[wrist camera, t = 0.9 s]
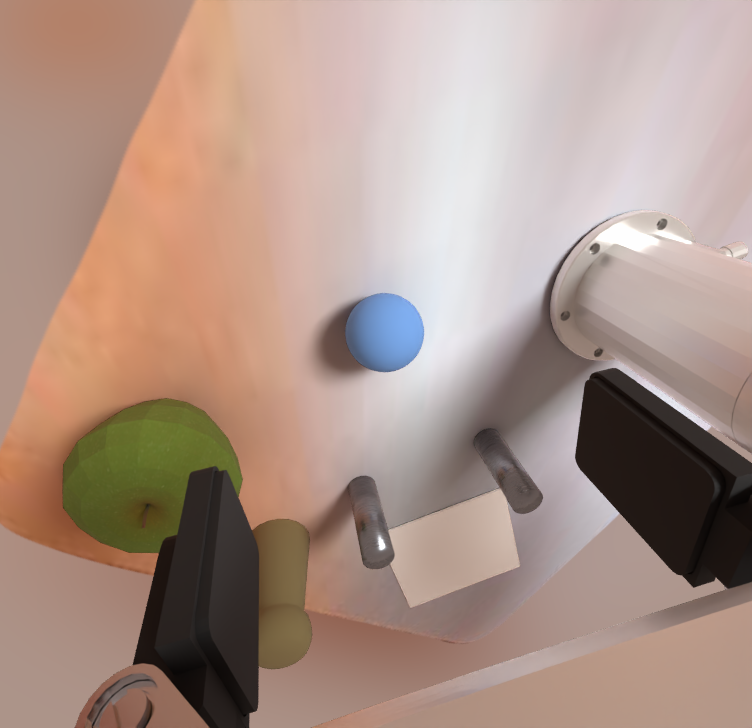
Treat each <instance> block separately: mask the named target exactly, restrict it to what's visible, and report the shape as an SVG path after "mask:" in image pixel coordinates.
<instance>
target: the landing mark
mask: <svg viewBox="0 0 752 728" xmlns="http://www.w3.org/2000/svg"><path fill="white" fill-rule="evenodd" d="M388 531H389V535H390V539H391V542H392V546H393V550H394V553H395V557H394V559H393V561H392V562H391V563H390V565H391V567H392V570H393V572H394V574H395V576H396V578H397V580H398V582H399V585H400V587H401V589H402V591H403V593H404V595H405V598H406V600H407V602H408V604H409V606H410V608H412V607H415V606H418V605H420V604H423V603H425V602H428V601H431V600H433V599H436V598H439V597H441V596H444V595H446V594H449V593H452V592H454V591H457V590H460V589H462V588H465V587H467V586H470V585H473V584H475V583H478V582H481V581H483V580H486V579H488V578H491V577H494V576H496V575H499V574H502V573H504V572H507V571H509V570H512V569H515V568H517V567H520V563H519V558H518V553H517V548H516V543H515V539H514V534H513V529H512V524H511V519H510V514H509V509H508V505H507V500H506V497H505V495H504V494H503V492H502V490H501V489H500V488H498V489H496V490H493V491H490V492H488V493H485V494H482V495H480V496H477V497H474V498H472V499H469V500H466V501H464V502H461V503H458V504H456V505H453V506H450V507H448V508H445V509H442V510H440V511H437V512H434V513H432V514H429V515H426V516H424V517H421V518H419V519H416V520H413V521H411V522H408V523H405V524H403V525H400V526H397V527H395V528H392V529H389V530H388Z"/></svg>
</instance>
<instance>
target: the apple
mask: <svg viewBox="0 0 752 728" xmlns="http://www.w3.org/2000/svg"><path fill="white" fill-rule="evenodd" d="M213 466H217V468H218V469H219V471H222V470H227V472H228V474H229V476H230V478H231V481H232V483H233V486H234V488H235V491H236V493H237V496H238V497H239V493H240V489H241V484H242V480H243V479H242V475H241V471H240V466H239V462H238V458H237V456H236V454H235V452H234V450H233V448H232V446H231V444H230V442H229V440H228V438H227V437H226V435H225V434H224V433H223V432H222V431H221V429H220V428H219V427H218V426H217V425H216V423H215V422H214V421H213V420H212V419H211V418H210V417H209V416H208V415H207V414H206V413H205V412H204V411H203V410H201V409H199V408H197V407H195V406H193V405H191V404H189V403H187V402H183V401H178V400H173V399H168V398H165V399H159V400H152V401H146V402H143V403H140V404H138V405H135V406H132V407H129V408H127V409H124V410H122V411H120V412H119V413H117V414H116V415H114V416H112V417H111V418H109V419H107V420H106V421H104V422H103V423H101V424H100V425H98V426H97V427H96V428H94V429H93V430H92V431H91V432H89V433H88V434H87V435H85V436H84V437H83V438H81V439H80V440H79V441H78V442H77V444H76V445H75V447H74V448H73V450H72V452H71V453H70V455H69V456H68V458H67V460H66V461H65V463H64V465H63V508H64V510H65V511H66V512H67V513H68V515H69V516H70V517H71V518H72V520H73V521H74V522H75V524H76V525H77V526H78V527H79V528H80V529H82V530H83V531H84V532H86V533H87V534H89V535H90V536H92V537H93V538H95V539H96V540H97V541H99V542H100V543H103V544H106V545H109V546H112V547H115V548H118V549H120V550H123V551H126V552H129V553H159V552H160V548H161V545H162V542H163V540H164V539H165V538H166V537H170V536H174V535H177V533H178V529H179V524H180V519H181V514H182V509H183V504H184V499H185V494H186V489H187V484H188V479H189V475H190V473H191V472H193V471H197V470H201V469H205V468H209V467H213Z"/></svg>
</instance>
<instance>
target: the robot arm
mask: <svg viewBox="0 0 752 728" xmlns="http://www.w3.org/2000/svg"><path fill="white" fill-rule="evenodd" d="M747 254H748V247H747V246H746V244H745V243H743V242H735V243H732V244H729V245H727V246H724V247H722V248H720V249H716V248H712V247H709V246H705V245H702V244H699V243H696V241H695V237H694V236H693V234H692V232H691V231H690V229H689V227H687V226H686V225H685V224H684V223H683V222H682V221H681V220H680V219H678V218H676V217H674V216H672V215H670V214H666V213H662V212H658V211H650V210H639V211H632V212H627V213H624V214H621V215H619V216H616V217H613V218H611V219H610V220H608V221H606V222H604V223H603V224H601V225H599V226H598V227H597V228H595V229H594V230H593V231H591V232H590V233H589V234H588V235H586V236H585V237H584V238H583V239H582V240H581V242H580V243H579V244H578V245H577V246H576V247H575V248H574V249H573V250H572V252H571V253H570V255H569V256H568V258H567V259H566V260H565V262H564V264H563V265H562V267H561V269H560V271H559V273H558V275H557V278H556V281H555V284H554V287H553V290H552V295H551V302H550V317H551V322H552V325H553V329H554V331H555V333H556V335H557V337H558V338H559V340H560V341H561V342H562V343H563V344H564V345H565V346H566V347H567V348H568V349H570V350H571V351H573V352H574V353H575V354H577V355H579V356H581V357H583V358H586V359H590V360H596V361H599V360H613V359H616V360H618V361H619V362H621V363H622V364H624V365H625V366H626V367H628V368H629V369H631V370H632V371H634V372H635V373H636V374H638V375H639V376H641V377H642V378H644V379H645V380H646V381H648V382H649V383H651V384H652V385H654V386H655V387H656V388H658V389H659V390H661V391H662V392H664V393H665V394H666V395H668V396H669V397H671V398H672V399H674V400H675V401H676V402H678V403H679V404H681V405H682V406H683V407H685V408H686V409H688V410H689V411H691V412H692V413H693V414H695V415H696V416H698V417H699V418H701V419H702V420H703V421H705V422H706V423H708V424H709V425H711V426H712V427H713V428H715V429H716V430H718V431H719V432H721V433H722V434H723V435H725V436H726V437H728V438H729V439H731V440H732V441H734V442H735V443H736V444H738V445H739V446H741V447H742V448H744V449H745V450H747V451H748V452H750V453H751V454H752V263H750V262H747V261H744V260H740V259H743V258H744V257H746V256H747ZM575 459H576V462H577V465H578V467H579V468H580V470H581V471H582V472H583V473H584V474H585V475H586V476H587V477H588V479H589V480H590V481H591V482H592V483H593V484H594V485H595V486H596V487H597V489H598V490H599V491H600V492H601V493H602V494H603V495H604V496H605V497H606V498H607V500H608V501H609V502H610V503H611V504H612V505H613V506H614V507H615V508H616V510H617V511H618V512H619V513H620V514H621V515H622V516H623V517H624V518H625V519H626V521H627V522H628V523H629V524H630V525H631V526H632V527H633V528H634V529H635V530H636V532H637V533H638V534H639V535H640V536H641V537H642V538H643V539H644V540H645V542H646V543H647V544H648V545H649V546H650V547H651V548H652V549H653V550H654V551H655V552H656V554H657V555H658V556H659V557H660V558H661V559H662V560H663V561H664V562H665V564H666V565H667V566H668V567H669V568H670V569H671V570H672V571H673V572H674V573H676V574H678V575H682V576H683V577H684V578H685V579H686V580H687V581H688V582H689V583H690V584H691V585H692V586H693V587H697V586H700V585H703V584H706V583H709V582H712V581H714V580H715V578H717V579H718V580H719V581H720V582H721V583H722V584H723V585H724V587H725V590H724V591H720V592H717V593H714V594H711V595H708V596H705V597H701V598H698V599H695V600H692V601H689V602H686V603H683V604H680V605H677V606H674V607H671V608H667V609H664V610H661V611H658V612H655V613H652V614H649V615H646V616H643V617H639V618H636V619H633V620H631V621H627V622H624V623H621V624H618V625H615V626H612V627H609V628H605V629H603V630H600V631H596V632H593V633H590V634H587V635H584V636H581V637H578V638H575V639H572V640H569V641H566V642H563V643H560V644H557V645H554V646H551V647H547V648H545V649H541V650H539V651H535V652H532V653H529V654H526V655H523V656H520V657H517V658H514V659H511V660H508V661H505V662H502V663H499V664H496V665H493V666H490V667H487V668H484V669H481V670H478V671H475V672H472V673H469V674H466V675H463V676H460V677H457V678H454V679H451V680H448V681H445V682H442V683H439V684H436V685H434V686H430V687H427V688H424V689H421V690H418V691H415V692H412V693H409V694H406V695H403V696H400V697H397V698H394V699H391V700H388V701H385V702H382V703H379V704H376V705H374V706H371V707H368V708H365V709H363V710H360V711H357V712H354V713H351V714H348V715H345V716H343V717H340V718H337V719H334V720H331V721H329V722H326V723H323V724H320V725H318V726H315V727H312V728H752V463H751V462H749V461H748V460H747V459H745V458H744V457H742V456H741V455H740V454H738V453H737V452H735V451H734V450H732V449H731V448H729V447H728V446H727V445H725V444H724V443H722V442H721V441H719V440H718V439H717V438H715V437H714V436H712V435H711V434H710V433H708V432H707V431H705V430H704V429H703V428H701V427H700V426H698V425H697V424H696V423H694V422H693V421H691V420H690V419H688V418H687V417H686V416H684V415H683V414H681V413H680V412H679V411H677V410H676V409H674V408H673V407H671V406H670V405H669V404H667V403H666V402H664V401H663V400H662V399H660V398H659V397H657V396H656V395H654V394H653V393H652V392H650V391H649V390H647V389H646V388H644V387H643V386H642V385H640V384H639V383H637V382H636V381H635V380H633V379H632V378H630V377H629V376H627V375H626V374H625V373H623V372H622V371H620V370H619V369H617V368H611V369H607V370H603V371H599V372H595V373H592V374H591V376H590V378H589V380H587V381H586V382H585V387H584V394H583V402H582V409H581V417H580V424H579V432H578V439H577V446H576V454H575ZM258 668H259V551H258V546H257V542H256V540H255V537H254V535H253V532H252V530H251V527H250V525H249V523H248V520H247V518H246V515H245V513H244V510H243V508H242V505H241V503H240V500H239V498H238V496H237V493H236V491H235V488H234V486H233V483H232V481H231V478H230V476H229V474H228V472H227V470H222V471H219V469H218V468H217V466H213V467H209V468H205V469H201V470H197V471H193V472H191V473H190V475H189V479H188V484H187V489H186V494H185V499H184V504H183V509H182V514H181V519H180V524H179V529H178V533H177V535H174V536H170V537H166V538H165V539H164V540H163V542H162V545H161V548H160V552H159V556H158V560H157V564H156V568H155V573H154V577H153V581H152V586H151V590H150V594H149V599H148V602H147V607H146V611H145V615H144V619H143V624H142V628H141V632H140V637H139V640H138V645H137V649H136V653H135V657H134V662H133V666H129V667H127V668H125V669H123V670H121V671H119V672H117V673H116V674H114V675H113V676H111V677H110V678H109V679H108V680H106V681H105V682H104V683H103V684H102V685H101V686H100V687H99V688H98V689H97V690H96V691H95V692H94V694H93V695H92V696H91V697H90V698H89V700H88V702H87V703H86V705H85V706H84V708H83V710H82V711H81V713H80V715H79V718H78V720H77V723H76V726H75V728H249V713H252V712H255V711H257V708H258Z"/></svg>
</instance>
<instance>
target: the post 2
mask: <svg viewBox="0 0 752 728" xmlns="http://www.w3.org/2000/svg"><path fill="white" fill-rule="evenodd" d="M474 446H475V448H476V449H477V451H478V453H479V454H480V456H481V458H482V459H483V461H484V462H485V464H486V466H487V467H488V469H489V471H490V472H491V474H492V476H493V477H494V479H495V480H496V482H497V484H498V485H499V487H500V489H501V490H502V492H503V494H504V495H505V497H506V499H507V500H508V502H509V503H510V505H511V507H512V508H513V510H514V511H515V512H516V513H520V514H525V513H529V512H531V511H533V510H535V509H536V508H537V507H538V506H539V505H540V504H541V502H542V499H543V495H542V493H541V492H540V490H539V489H538V488H537V486H536V485H535V483H534V482H533V481H532V479H531V478H530V476H529V475H528V474H527V472H526V471H525V469H524V468H523V466H522V465H521V464H520V462H519V461H518V459H517V458H516V457H515V455H514V454H513V452H512V451H511V450H510V448H509V447H508V445H507V444H506V443H505V441H504V440H503V438H502V437H501V436H500V434H499V433H498V432H497V431H496V430H494V429H486V430H483V431H481V432H480V433H479V434H478V435H477V436H476V437H475V439H474Z"/></svg>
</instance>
